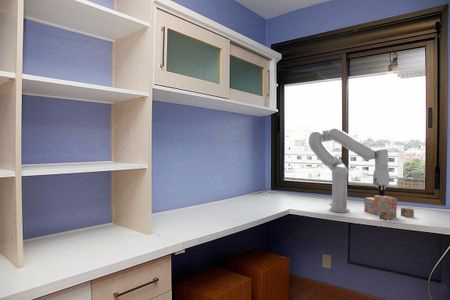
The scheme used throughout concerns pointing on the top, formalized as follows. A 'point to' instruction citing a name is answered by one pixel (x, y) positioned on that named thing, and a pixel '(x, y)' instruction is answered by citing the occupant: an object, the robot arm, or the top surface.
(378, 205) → the stack of blocks
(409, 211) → the marked walnut cube
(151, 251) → the top surface
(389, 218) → the marked walnut cube
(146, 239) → the top surface
